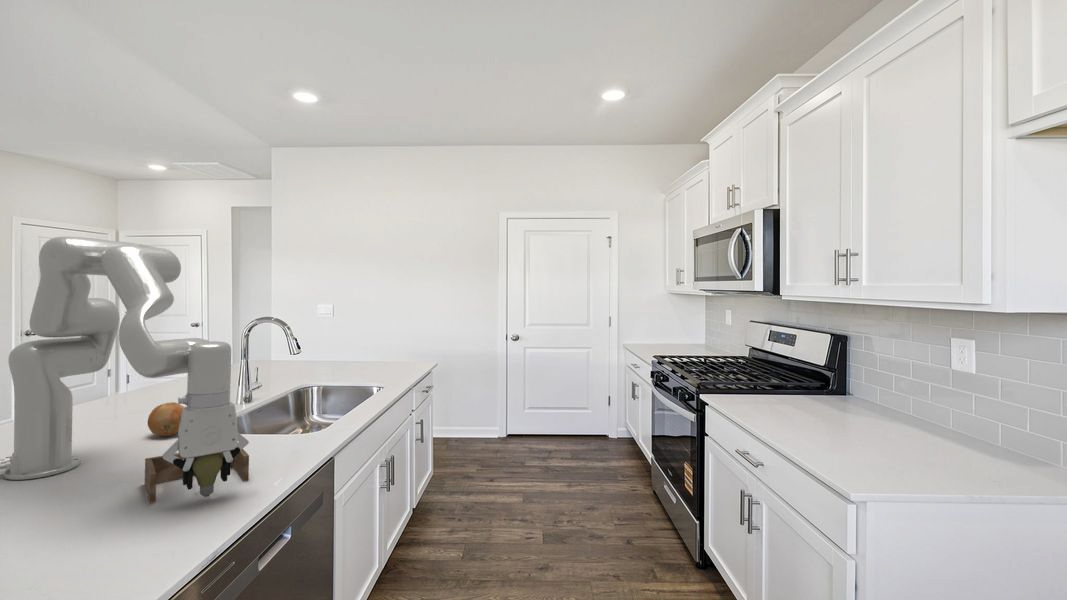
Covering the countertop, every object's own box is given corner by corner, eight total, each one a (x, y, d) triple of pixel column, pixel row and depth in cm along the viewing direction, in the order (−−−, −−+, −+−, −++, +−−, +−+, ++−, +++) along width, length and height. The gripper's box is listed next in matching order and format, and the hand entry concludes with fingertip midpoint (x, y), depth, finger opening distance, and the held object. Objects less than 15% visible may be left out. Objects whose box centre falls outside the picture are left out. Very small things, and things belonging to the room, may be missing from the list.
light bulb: (205, 503, 93) (206, 456, 93) (183, 500, 94) (184, 453, 94) (228, 492, 99) (229, 447, 98) (207, 489, 100) (208, 444, 100)
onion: (185, 428, 143) (186, 397, 143) (191, 436, 136) (192, 403, 136) (145, 434, 136) (146, 401, 136) (149, 443, 129) (150, 408, 129)
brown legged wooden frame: (149, 503, 94) (150, 475, 94) (144, 484, 103) (145, 458, 103) (248, 480, 107) (249, 455, 107) (236, 465, 116) (237, 442, 116)
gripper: (159, 409, 87) (156, 501, 88) (259, 397, 99) (257, 478, 100) (155, 401, 93) (153, 488, 93) (250, 391, 105) (248, 468, 105)
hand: (206, 482), depth 96 cm, fingers closed on light bulb, 5 cm apart
